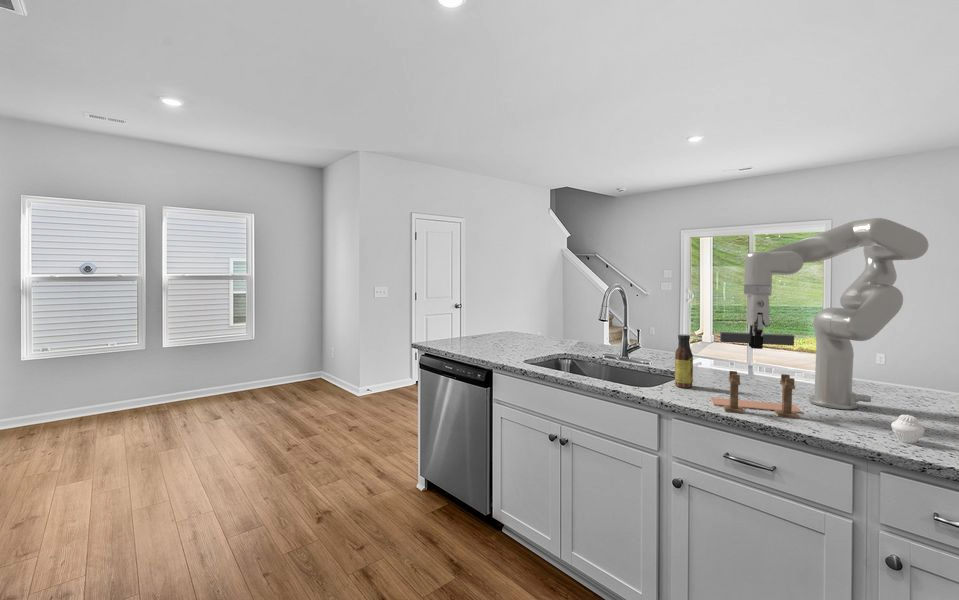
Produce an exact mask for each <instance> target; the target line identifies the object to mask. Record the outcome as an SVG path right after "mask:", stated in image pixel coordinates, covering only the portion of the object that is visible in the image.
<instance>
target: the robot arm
mask: <svg viewBox="0 0 959 600" xmlns="http://www.w3.org/2000/svg"><path fill="white" fill-rule="evenodd" d="M929 244H930V243H929V241H928V239H927V237H926V236H925V234H923V233H922V232H920V231H917V230H916V229H913V228H910V227H908V226H905V225H904V224H900V223H898V222H895V221H893V220H890V219H887V218H883V217H873V218H867V219H858V220H853V221H849V222H847V223H843V224H841V225H838V226H836V227H834V228H831V229H829V230H826V231H823V232H820V233H818V234H815V235H812V236H808V237H806V238H802V239H800V240H797V241H796V240H795V241H794V242H791V243H787V244H783V245H780V246H778V247H775V248H773V249H770V250H767V251H751V252H747V253H746V254H745V256H744V275H743V276H744V277H743V296H746V297H747V300H746V323H747V325H749V328H748V329H749V331H748V333H752V336H751V343H748V347H750V348H751V349H753V350H755V349H757V350H758V349H759V350H763V349H764V344H763V334H764V327H765V328H766V327H767V328H768V327H770V298H769V297H770V296H772V291H773V290H772V289H773V287H772V286H773V284H772V283H773V275H776V276H778V275H779V276H788V275H789V276H790V275H793V274H796V273H798V272H800V270H801V269H802V268H803V266H804V264H806V263H814V262H815V263H816V262H822V261H826V260H830V259H832V258H835V257H837V256H839V255H843V254H845V253H848V252H850V251H853V250H855V249H858V248H862V247H863V256H864V262H865V266H864V269H863V271H862V272H861V274H860V275H859V276H858V277H857V278H856V279H855V280H854V281H853V282H852V283H851V284H850V285H849V286H848V287H847V288H846V289H845V290H844V292H843V293H842V294H841V296H840V299H839V304H840V305H841V307H825V308H823V309H821V310H819V311H818V312H816V314H815V315H814V317H813V330H814V334H815V342H816V343H815V347H816V348H815V350H816V351H815V367H814V369H815V371H814V372H815V373H814V377H815V378H814V394H813V395H810V396H808V402H809V403H811V404H814V405H816V406H820V407H825V408H830V409H837V410H855V409H857V408H858V406H859V405H858V403H859V402H863V403H872V397H871V396H870V395H863V394H860V393H859V394H857V393H855V392H853V370H854V356H855V354H854V347H853V345H852V342H851V341H856V342H866V341H868V340H871V339H873V338H874V337H875V336H877V335H878V334H879V333H880V332H881V330H883V329H884V328H885V327H886V326H887V325H888V324H889V323H890V322H891V321H892V320H893V318H895V317H896V316H897V314H899V311H900V310H901V309H902V307H903V303H904V295H903V293H902V291H901V290H900V289H899V288H897V286H894V284H895V283H896V281H897V272H896V268H895V265H894V261H910V260H911V261H912V260H916V259H920V258H922V257H923V256H924V255H925V254H926V253H927V252H928V250H929Z"/></svg>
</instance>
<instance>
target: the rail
mask: <svg viewBox="0 0 959 600" xmlns="http://www.w3.org/2000/svg"><path fill="white" fill-rule="evenodd" d="M751 336H752V333H749V332H737V331H736V332H735V331H733V332H732V331H731V332H729V331H720V332H719V341H720V342H721V343H732V344H733V343H734V344H735V343H736V344H749V343H751ZM763 345H772V346H774V345H775V346H792V347H793V346H794V345H795V335H793V334H781V333H778V334H777V333H763Z"/></svg>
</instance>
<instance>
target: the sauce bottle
mask: <svg viewBox="0 0 959 600" xmlns="http://www.w3.org/2000/svg"><path fill="white" fill-rule="evenodd" d="M677 339H678V347H677V348H676V350H675V358H674V382H675V383H674V384H675V386H676V387H678V388H680V389H681V388H683V389H691V388H692V387H693V382H694V381H693V380H694V379H693V378H694V354H693V352H692V349H691V346H690V339H691V335H690V334H684V333H683V334H682V333H681V334H678V335H677Z"/></svg>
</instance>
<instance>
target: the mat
mask: <svg viewBox="0 0 959 600" xmlns="http://www.w3.org/2000/svg"><path fill="white" fill-rule="evenodd" d="M711 401H713V402H712V403H713V406H716V407H724V405H729V406H730V398H720V397H711ZM738 406H740V407H742V408H743V409H746V408H754V409H753V410H757V409H763V410H762V411H768V410H773V411H772V412H775V410H782V403H781V402H779V403H778V402H768V401H767V402H766V401H757V400H755V401H754V400H746V399H744V400H742V399H738ZM791 411H795V413H796V414H801V413H802V414H803V411H802V410H801V409H800V408H799V407H798V406H797V405H796V404H792V410H791Z"/></svg>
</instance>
